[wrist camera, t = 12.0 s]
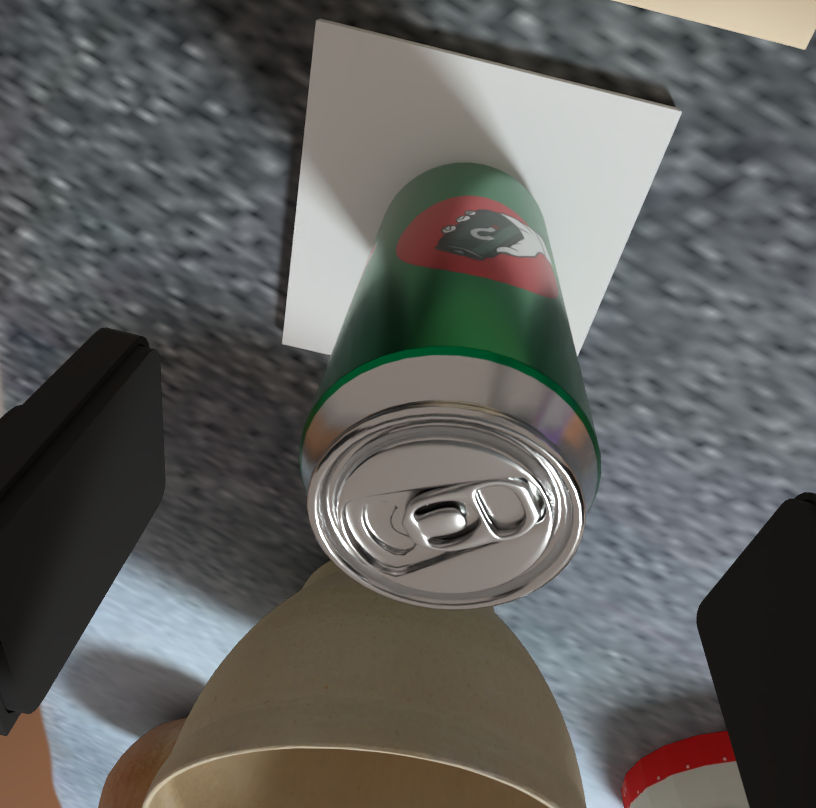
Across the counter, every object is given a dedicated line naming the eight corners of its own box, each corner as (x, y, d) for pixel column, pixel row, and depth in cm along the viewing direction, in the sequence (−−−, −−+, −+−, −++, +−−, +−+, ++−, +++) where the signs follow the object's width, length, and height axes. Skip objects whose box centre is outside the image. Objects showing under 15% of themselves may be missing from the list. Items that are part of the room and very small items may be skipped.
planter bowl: (434, 733, 37) (419, 972, 29) (187, 616, 33) (79, 855, 24) (641, 602, 29) (711, 883, 20) (347, 425, 25) (272, 681, 16)
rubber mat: (321, 18, 17) (316, 20, 17) (676, 107, 17) (682, 111, 17) (286, 335, 23) (281, 344, 22) (554, 397, 23) (556, 406, 23)
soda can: (353, 198, 19) (218, 448, 9) (514, 127, 18) (554, 337, 8) (420, 335, 22) (369, 647, 12) (566, 284, 20) (647, 593, 10)
